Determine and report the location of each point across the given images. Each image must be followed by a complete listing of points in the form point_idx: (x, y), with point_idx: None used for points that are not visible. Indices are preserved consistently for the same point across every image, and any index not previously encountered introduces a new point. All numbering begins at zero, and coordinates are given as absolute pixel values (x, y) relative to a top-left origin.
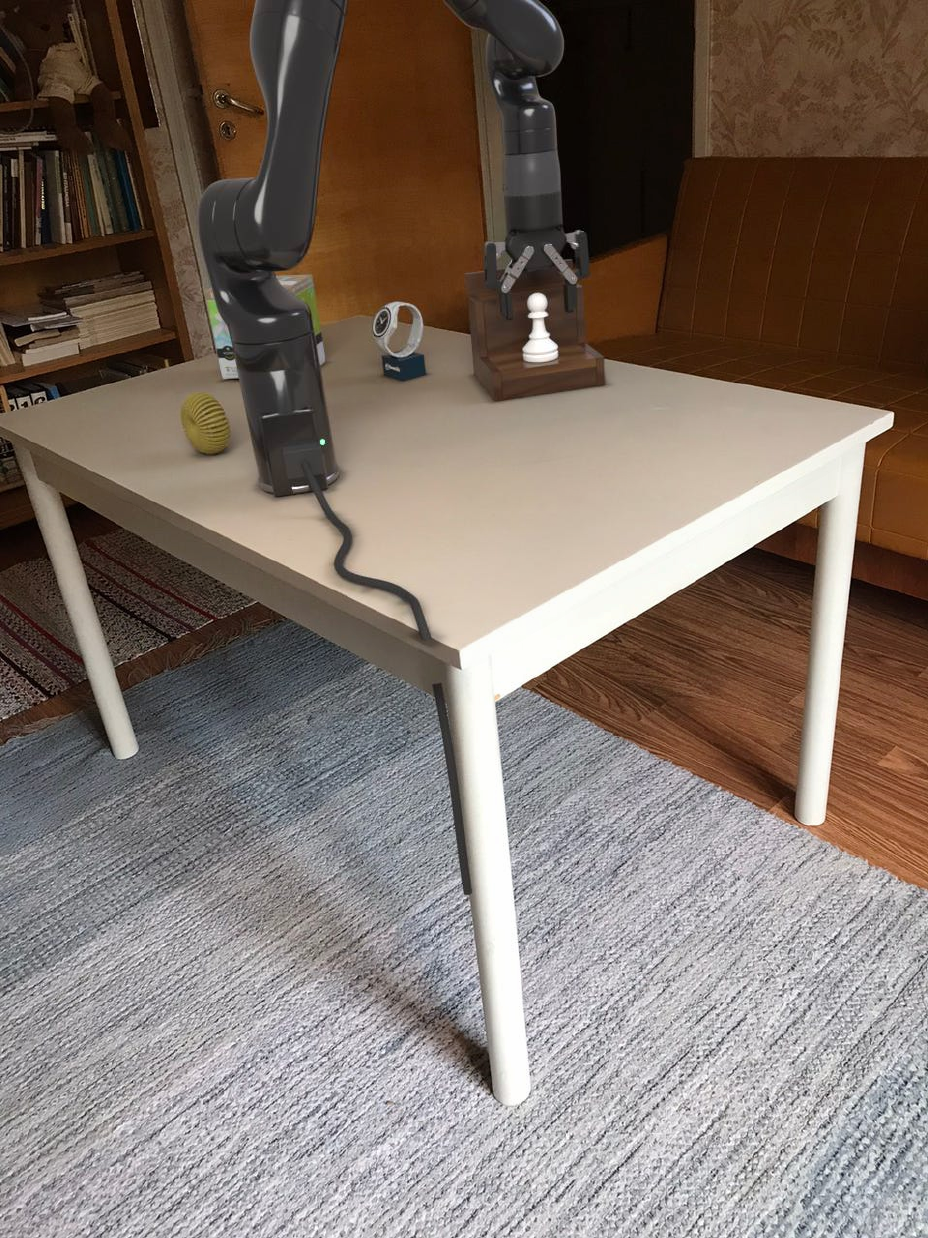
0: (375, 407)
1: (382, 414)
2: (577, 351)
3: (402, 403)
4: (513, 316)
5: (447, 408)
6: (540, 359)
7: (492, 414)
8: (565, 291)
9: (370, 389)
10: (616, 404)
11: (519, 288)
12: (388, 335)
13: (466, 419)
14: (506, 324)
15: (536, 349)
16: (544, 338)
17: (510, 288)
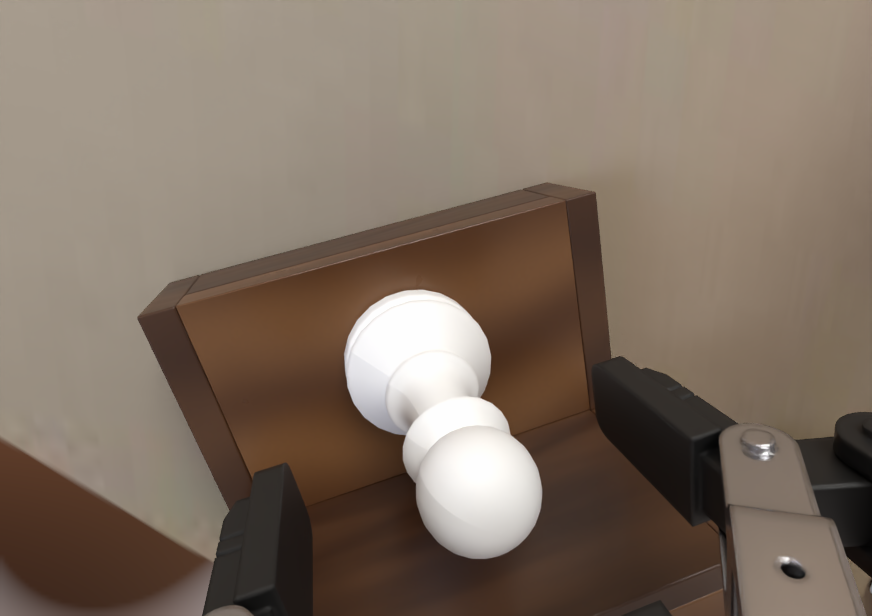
0: (843, 219)
1: (840, 145)
2: (266, 419)
3: (780, 238)
4: (554, 535)
5: (681, 151)
6: (416, 291)
7: (563, 34)
8: (297, 588)
9: (824, 381)
10: (95, 2)
11: None
12: None
13: (643, 3)
14: (571, 501)
15: (439, 312)
16: (409, 359)
17: (720, 451)
